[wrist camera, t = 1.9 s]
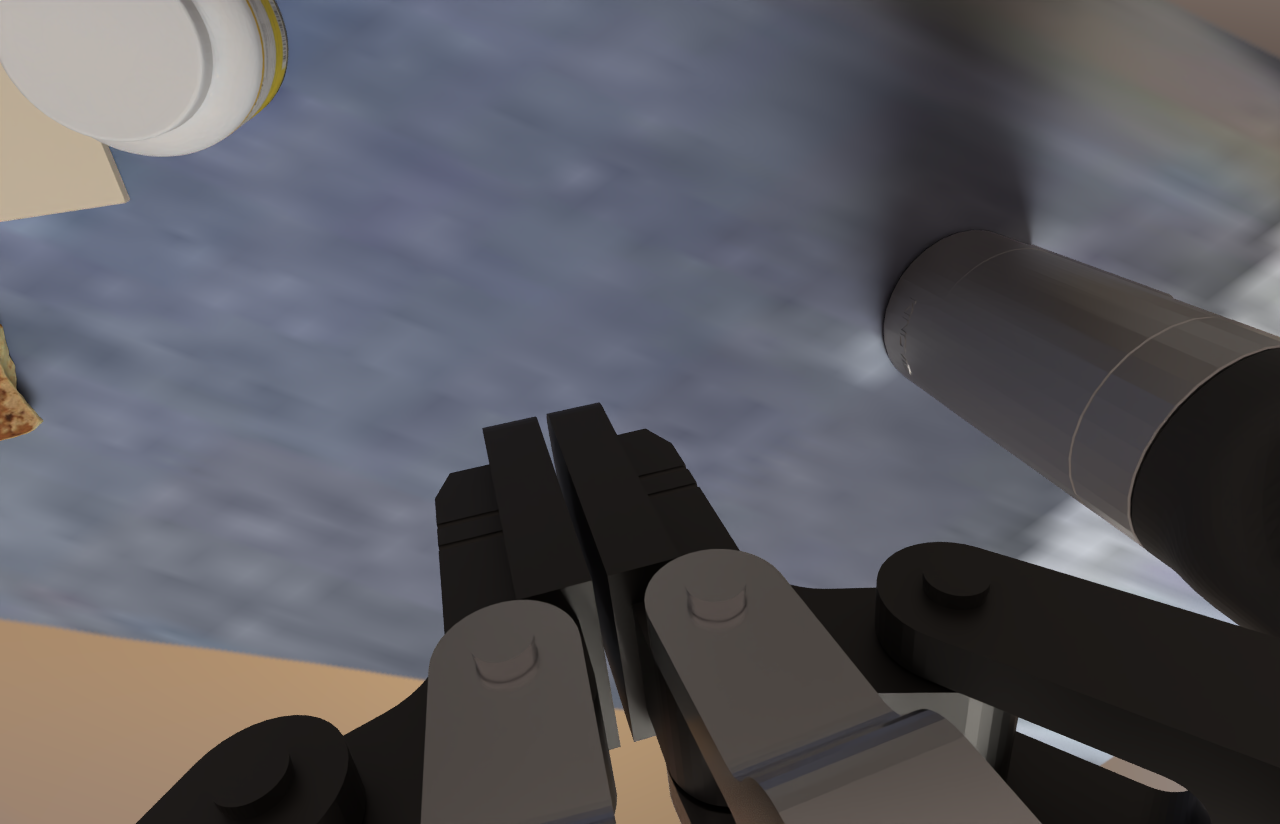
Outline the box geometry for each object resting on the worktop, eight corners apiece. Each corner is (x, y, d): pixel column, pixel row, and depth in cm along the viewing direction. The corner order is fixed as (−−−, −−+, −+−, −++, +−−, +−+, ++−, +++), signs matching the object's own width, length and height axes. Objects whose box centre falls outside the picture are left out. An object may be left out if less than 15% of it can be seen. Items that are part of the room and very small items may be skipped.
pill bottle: (57, -29, 28) (-137, -53, 18) (230, -94, 28) (138, -153, 18) (170, 150, 31) (61, 215, 21) (324, 89, 32) (289, 123, 22)
